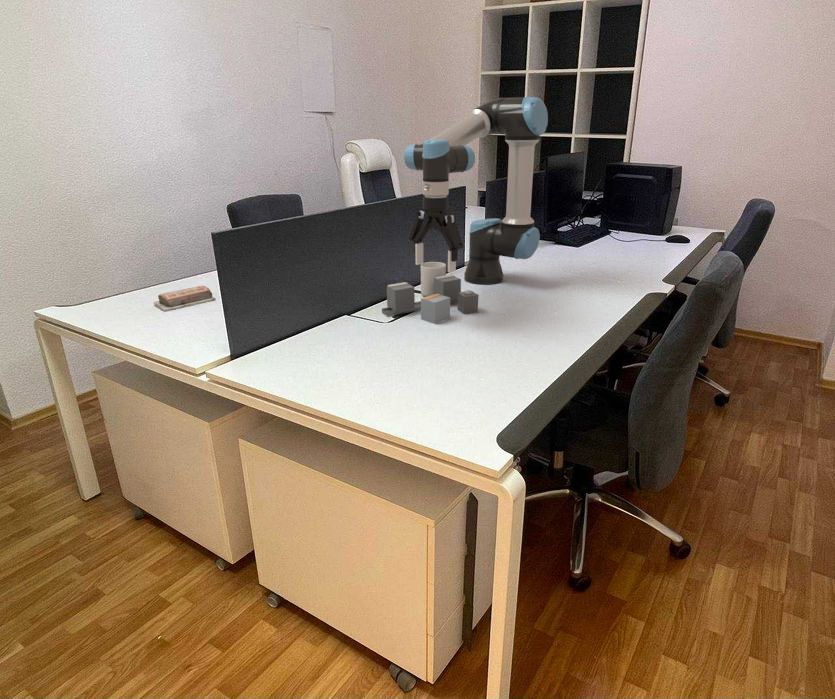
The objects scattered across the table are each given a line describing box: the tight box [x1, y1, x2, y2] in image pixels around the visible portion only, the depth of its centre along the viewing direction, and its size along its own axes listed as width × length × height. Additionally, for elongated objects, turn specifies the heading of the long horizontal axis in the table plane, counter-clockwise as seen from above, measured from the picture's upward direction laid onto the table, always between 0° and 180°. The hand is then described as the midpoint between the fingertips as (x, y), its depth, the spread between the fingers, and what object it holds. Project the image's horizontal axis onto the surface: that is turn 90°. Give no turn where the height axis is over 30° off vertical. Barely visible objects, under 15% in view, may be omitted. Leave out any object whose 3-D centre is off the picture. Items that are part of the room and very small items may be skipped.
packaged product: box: [153, 285, 216, 313], centre depth 195 cm, size 18×5×10 cm
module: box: [420, 294, 451, 325], centre depth 176 cm, size 7×6×7 cm
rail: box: [381, 300, 458, 317], centre depth 188 cm, size 30×4×2 cm, turn 120°
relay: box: [457, 289, 479, 315], centre depth 183 cm, size 5×5×7 cm
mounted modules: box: [386, 274, 462, 311], centre depth 187 cm, size 25×6×7 cm, turn 120°
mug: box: [420, 261, 447, 298], centre depth 200 cm, size 12×9×11 cm
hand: (435, 267), depth 171 cm, fingers open, 13 cm apart
